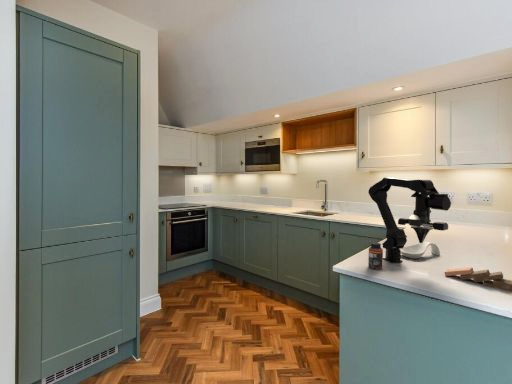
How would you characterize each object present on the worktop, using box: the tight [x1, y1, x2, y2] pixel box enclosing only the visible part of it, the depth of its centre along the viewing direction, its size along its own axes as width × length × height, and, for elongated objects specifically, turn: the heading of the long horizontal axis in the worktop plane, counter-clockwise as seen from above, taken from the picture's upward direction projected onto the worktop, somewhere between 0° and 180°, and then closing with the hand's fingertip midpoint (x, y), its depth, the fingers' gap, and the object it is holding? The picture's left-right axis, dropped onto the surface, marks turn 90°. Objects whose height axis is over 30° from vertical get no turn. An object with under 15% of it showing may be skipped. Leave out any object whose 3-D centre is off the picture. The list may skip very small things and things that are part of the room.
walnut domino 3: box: [482, 280, 512, 292], centre depth 107 cm, size 2×5×9 cm
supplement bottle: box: [367, 241, 384, 271], centre depth 127 cm, size 6×6×11 cm
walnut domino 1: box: [459, 269, 491, 281], centre depth 112 cm, size 2×5×9 cm
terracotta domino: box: [443, 267, 474, 277], centre depth 116 cm, size 2×5×9 cm
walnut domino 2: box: [472, 271, 504, 284], centre depth 109 cm, size 2×5×9 cm
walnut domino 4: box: [492, 278, 512, 289], centre depth 104 cm, size 2×5×9 cm
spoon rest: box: [400, 241, 441, 259], centre depth 148 cm, size 24×12×7 cm, turn 111°
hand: (421, 242), depth 125 cm, fingers closed
